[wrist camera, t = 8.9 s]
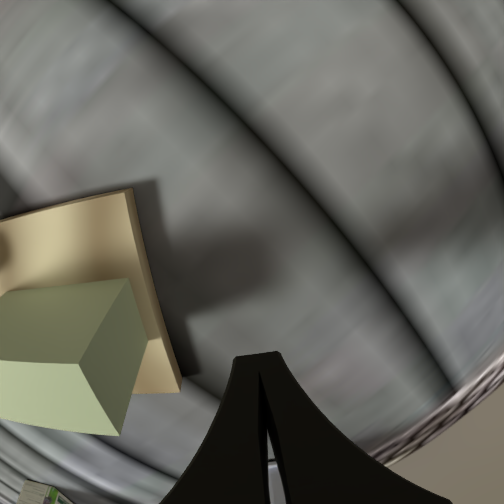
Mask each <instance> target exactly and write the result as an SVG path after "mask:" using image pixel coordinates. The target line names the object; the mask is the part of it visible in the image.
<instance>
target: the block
mask: <svg viewBox="0 0 504 504" xmlns="http://www.w3.org/2000/svg"><path fill="white" fill-rule="evenodd" d="M147 344H148V338H147V335H146V332H145V329H144V326H143V323H142V320H141V317H140V314H139V311H138V308H137V304H136V301H135V298H134V294H133V291H132V287H131V284H130V280H129V278H121V279H113V280H104V281H96V282H87V283H79V284H70V285H62V286H53V287H44V288H35V289H26V290H17V291H8V292H5V293H4V294H3V295H2V296H1V297H0V418H3V419H7V420H11V421H15V422H20V423H25V424H29V425H35V426H40V427H46V428H52V429H58V430H65V431H72V432H80V433H89V434H100V435H113V436H120V434H121V430H122V426H123V423H124V419H125V416H126V412H127V409H128V405H129V402H130V398H131V395H132V391H133V388H134V385H135V382H136V378H137V375H138V372H139V369H140V365H141V362H142V359H143V356H144V353H145V350H146V347H147Z"/></svg>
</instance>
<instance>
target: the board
mask: <svg viewBox="0 0 504 504" xmlns="http://www.w3.org/2000/svg"><path fill="white" fill-rule="evenodd" d="M121 278H129V280H130V284H131V287H132V291H133V294H134V298H135V301H136V304H137V308H138V311H139V314H140V317H141V320H142V323H143V326H144V329H145V332H146V335H147V338H148V344H147V347H146V350H145V353H144V356H143V359H142V362H141V365H140V369H139V372H138V375H137V378H136V382H135V385H134V388H133V391H132V394H148V393H176V392H180V390H181V383H182V376H181V373H180V370H179V367H178V364H177V361H176V358H175V355H174V352H173V349H172V345H171V342H170V339H169V336H168V332H167V329H166V326H165V322H164V319H163V316H162V312H161V309H160V305H159V301H158V298H157V294H156V290H155V287H154V283H153V279H152V275H151V271H150V267H149V263H148V259H147V255H146V250H145V246H144V242H143V237H142V233H141V228H140V223H139V218H138V214H137V209H136V204H135V198H134V193H133V188H128V189H123V190H118V191H114V192H109V193H104V194H100V195H95V196H90V197H86V198H82V199H77V200H73V201H69V202H65V203H61V204H57V205H53V206H49V207H45V208H41V209H38V210H34V211H30V212H27V213H23V214H19V215H16V216H12V217H9V218H6V219H2V220H0V297H1V296H2V295H3V294H4V293H5V292H8V291H17V290H26V289H35V288H44V287H53V286H62V285H70V284H79V283H87V282H96V281H104V280H113V279H121Z"/></svg>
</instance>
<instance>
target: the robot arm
mask: <svg viewBox="0 0 504 504" xmlns="http://www.w3.org/2000/svg"><path fill="white" fill-rule="evenodd" d="M267 429H268V433H269V437H270V440H271V444H272V448H273V452H274V456H275V459H276V461H274V462H268V445H267ZM159 504H452V502H451V501H450V500H449V499H446V498H444V497H441V496H439V495H437V494H434V493H432V492H430V491H428V490H426V489H424V488H421V487H419V486H417V485H415V484H414V483H412V482H410V481H408V480H406V479H405V478H402V477H401V476H399V475H398V474H396V473H394V472H392V471H391V470H390V469H388V468H387V467H385V466H384V465H382V464H381V463H379V462H378V461H376V460H375V459H374V458H372V457H371V456H369V455H368V454H367V453H365V452H364V451H363V450H362V449H360V448H359V447H358V446H357V445H355V444H354V443H353V442H352V441H351V440H349V439H348V438H347V437H346V436H345V435H344V434H343V433H342V432H341V431H340V430H338V429H337V428H336V427H335V426H334V425H333V424H332V423H331V422H330V421H329V420H328V418H327V417H326V416H325V415H324V414H323V413H322V412H321V411H320V410H319V409H318V408H317V406H316V405H315V404H314V403H313V402H312V400H311V399H310V398H309V397H308V395H307V394H306V393H305V391H304V390H303V389H302V388H301V386H300V385H299V384H298V382H297V381H296V379H295V378H294V376H293V375H292V373H291V372H290V370H289V368H288V367H287V365H286V363H285V361H284V359H283V357H282V355H281V353H279V352H278V351H273V352H266V353H259V354H252V355H244V356H236V357H235V358H234V359H233V364H232V369H231V373H230V377H229V381H228V384H227V387H226V390H225V393H224V395H223V398H222V401H221V403H220V406H219V409H218V411H217V413H216V416H215V418H214V420H213V422H212V424H211V426H210V428H209V430H208V433H207V435H206V436H205V438H204V440H203V442H202V444H201V446H200V447H199V449H198V451H197V453H196V454H195V456H194V457H193V459H192V461H191V462H190V464H189V465H188V467H187V468H186V470H185V471H184V473H183V474H182V475H181V477H180V478H179V480H178V481H177V482H176V484H175V485H174V486H173V488H172V489H171V490H170V492H169V493H168V494H167V495H166V496H165V497H164V499H163V500H162V501H161V502H160V503H159Z"/></svg>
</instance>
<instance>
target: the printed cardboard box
mask: <svg viewBox="0 0 504 504" xmlns="http://www.w3.org/2000/svg"><path fill="white" fill-rule="evenodd" d="M17 504H74V503H72V502H71V501H70V500H68V499H67V498H66V497H65V496H64V495H62V494H61V493H60V492H59V491H58V490H57V489H56V488H55V487H52V486H48V485H44V484H41V483H37V482H33V481H29V480H25V482H24V485H23V487H22V490H21V493H20V495H19V498H18V501H17Z"/></svg>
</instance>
